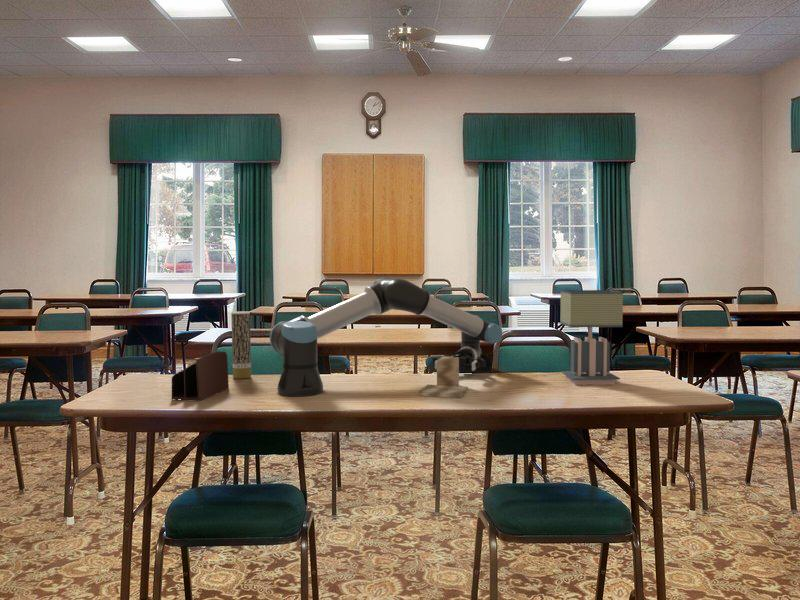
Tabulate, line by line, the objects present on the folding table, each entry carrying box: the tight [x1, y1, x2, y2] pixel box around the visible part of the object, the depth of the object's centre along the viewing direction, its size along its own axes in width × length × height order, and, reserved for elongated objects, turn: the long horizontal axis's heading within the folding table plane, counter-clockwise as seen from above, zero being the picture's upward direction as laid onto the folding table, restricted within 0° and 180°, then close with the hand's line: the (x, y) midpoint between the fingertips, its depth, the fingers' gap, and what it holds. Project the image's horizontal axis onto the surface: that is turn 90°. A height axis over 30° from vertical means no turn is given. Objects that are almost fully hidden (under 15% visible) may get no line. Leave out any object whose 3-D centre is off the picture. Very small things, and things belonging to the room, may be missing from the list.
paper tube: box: [230, 310, 252, 380], centre depth 235 cm, size 7×7×25 cm
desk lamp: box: [559, 289, 624, 386], centre depth 224 cm, size 18×14×33 cm
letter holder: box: [171, 351, 230, 401], centre depth 207 cm, size 10×20×14 cm, turn 168°
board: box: [418, 384, 469, 399], centre depth 206 cm, size 14×11×2 cm
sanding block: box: [436, 356, 460, 386], centre depth 216 cm, size 6×8×10 cm
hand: (454, 366), depth 225 cm, fingers open, 13 cm apart
